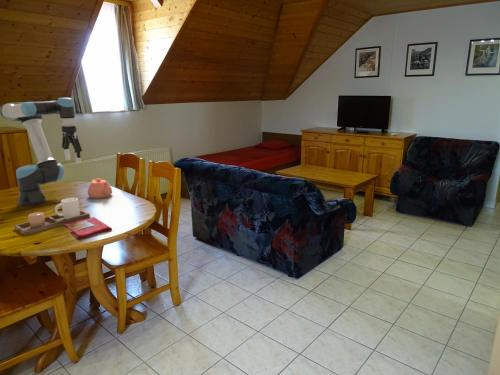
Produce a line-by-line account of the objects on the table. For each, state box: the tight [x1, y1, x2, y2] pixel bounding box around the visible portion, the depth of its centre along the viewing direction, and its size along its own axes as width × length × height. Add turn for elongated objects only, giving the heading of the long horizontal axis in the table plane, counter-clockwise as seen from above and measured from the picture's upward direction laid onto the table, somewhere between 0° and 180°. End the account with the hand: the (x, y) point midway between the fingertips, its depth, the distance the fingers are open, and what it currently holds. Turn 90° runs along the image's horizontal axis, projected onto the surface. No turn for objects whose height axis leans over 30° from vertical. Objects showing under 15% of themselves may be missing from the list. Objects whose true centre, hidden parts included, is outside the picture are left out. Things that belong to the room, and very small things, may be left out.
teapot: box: [87, 177, 113, 200], centre depth 240 cm, size 22×15×12 cm
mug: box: [54, 197, 81, 219], centre depth 199 cm, size 12×8×10 cm
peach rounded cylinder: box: [27, 211, 46, 229], centre depth 187 cm, size 7×7×7 cm
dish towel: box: [63, 216, 113, 240], centre depth 188 cm, size 17×24×3 cm
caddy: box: [14, 208, 91, 236], centre depth 193 cm, size 13×33×3 cm, turn 141°
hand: (73, 161), depth 214 cm, fingers open, 13 cm apart
